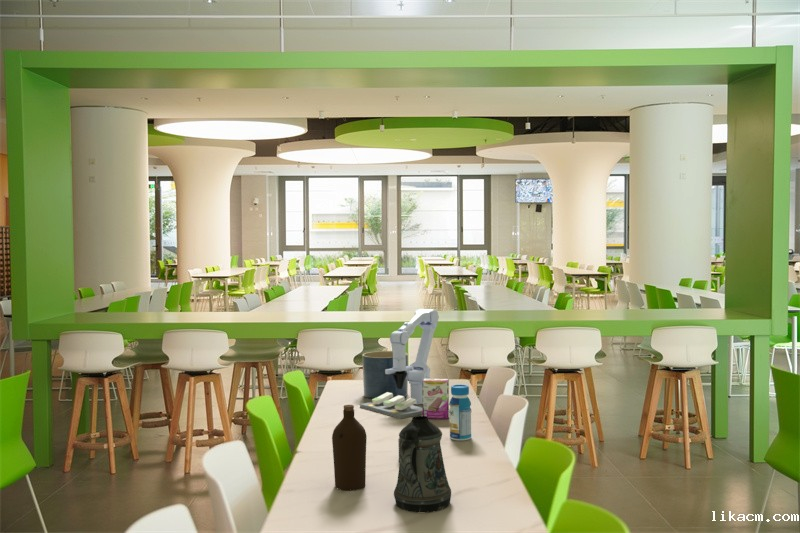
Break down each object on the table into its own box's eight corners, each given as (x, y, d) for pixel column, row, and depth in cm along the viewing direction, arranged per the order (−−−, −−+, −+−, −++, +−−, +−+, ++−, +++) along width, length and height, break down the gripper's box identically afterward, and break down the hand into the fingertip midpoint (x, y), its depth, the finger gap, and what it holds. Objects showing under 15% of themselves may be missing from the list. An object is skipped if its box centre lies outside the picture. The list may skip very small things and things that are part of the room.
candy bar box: (422, 419, 329) (421, 380, 329) (423, 416, 334) (422, 378, 334) (449, 419, 328) (448, 380, 328) (449, 416, 333) (448, 378, 333)
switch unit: (388, 402, 365) (388, 396, 365) (429, 412, 341) (429, 406, 341) (360, 407, 355) (360, 401, 355) (400, 418, 331) (400, 412, 331)
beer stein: (448, 493, 233) (447, 410, 233) (455, 516, 214) (454, 425, 213) (393, 494, 233) (391, 411, 232) (395, 517, 214) (393, 427, 213)
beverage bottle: (470, 441, 292) (469, 388, 291) (448, 440, 294) (447, 387, 293) (473, 435, 300) (472, 384, 300) (451, 435, 302) (450, 383, 301)
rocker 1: (388, 395, 359) (387, 391, 358) (393, 396, 356) (392, 392, 355) (372, 403, 354) (371, 399, 353) (378, 404, 350) (377, 400, 350)
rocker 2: (399, 398, 352) (398, 394, 352) (404, 399, 349) (404, 396, 349) (383, 405, 347) (383, 402, 347) (389, 407, 344) (388, 403, 343)
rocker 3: (411, 401, 345) (410, 397, 345) (416, 402, 342) (416, 398, 342) (395, 408, 340) (394, 405, 340) (401, 410, 337) (400, 406, 337)
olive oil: (368, 490, 237) (366, 408, 236) (333, 492, 236) (331, 410, 235) (366, 479, 248) (364, 401, 247) (332, 481, 247) (331, 402, 246)
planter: (356, 398, 374) (355, 357, 373) (371, 390, 395) (370, 350, 394) (401, 401, 367) (400, 358, 367) (413, 391, 389) (413, 351, 388)
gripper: (406, 355, 357) (407, 385, 357) (380, 358, 348) (381, 389, 348) (416, 357, 351) (416, 387, 352) (390, 360, 342) (391, 391, 343)
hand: (399, 388), depth 350 cm, fingers closed
